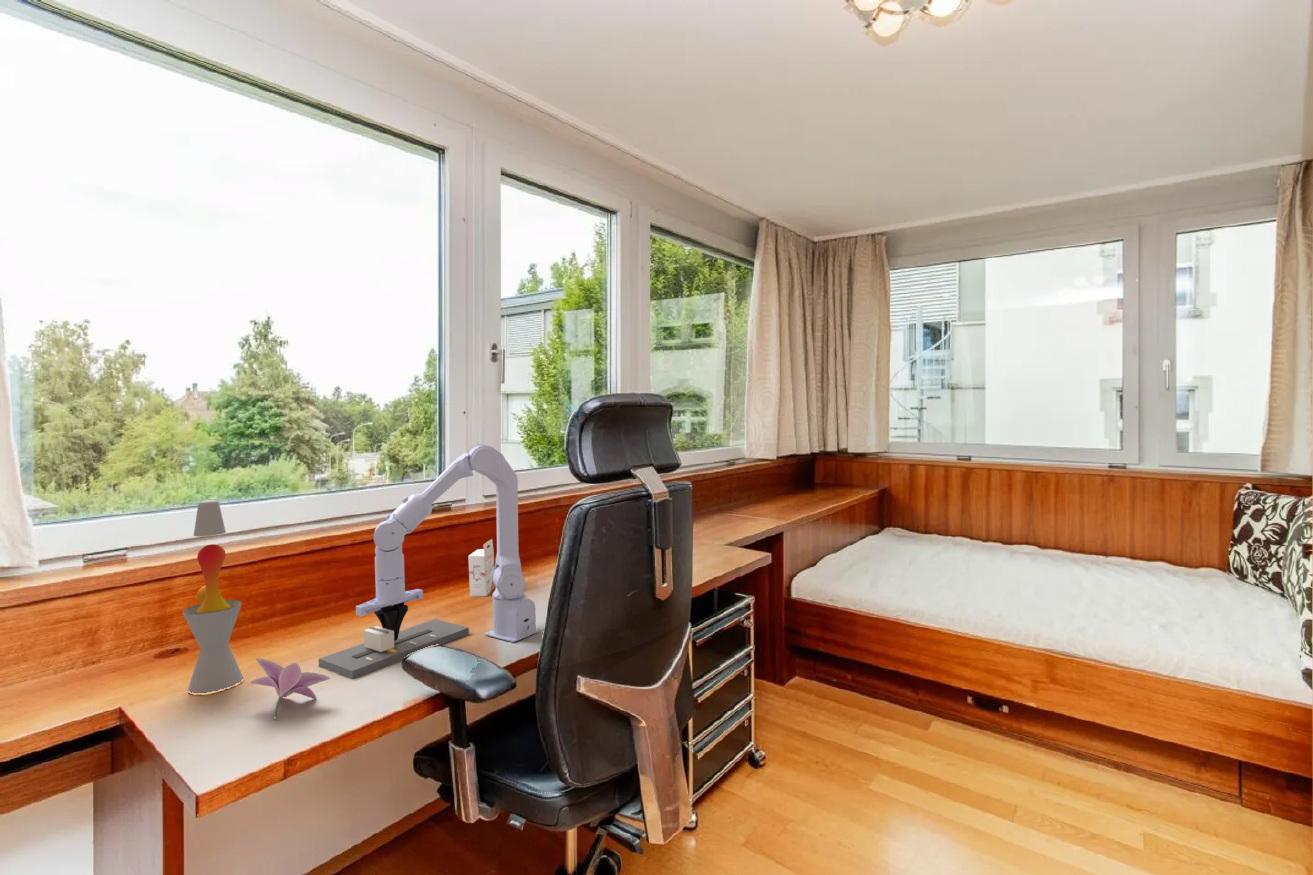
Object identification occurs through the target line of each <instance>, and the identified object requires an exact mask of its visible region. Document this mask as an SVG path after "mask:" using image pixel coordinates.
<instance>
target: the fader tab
mask: <svg viewBox="0 0 1313 875" xmlns="http://www.w3.org/2000/svg"><path fill="white" fill-rule="evenodd" d="M363 643H364V647H367V648H370V649H373V650H376V651H379V652H383V651H386V650H388V649H391V648H394V631H393V630H389V629H386V628H383V627H382V626H378V625H376V626H369V627H368V628H367V629H364V630H363Z"/></svg>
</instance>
